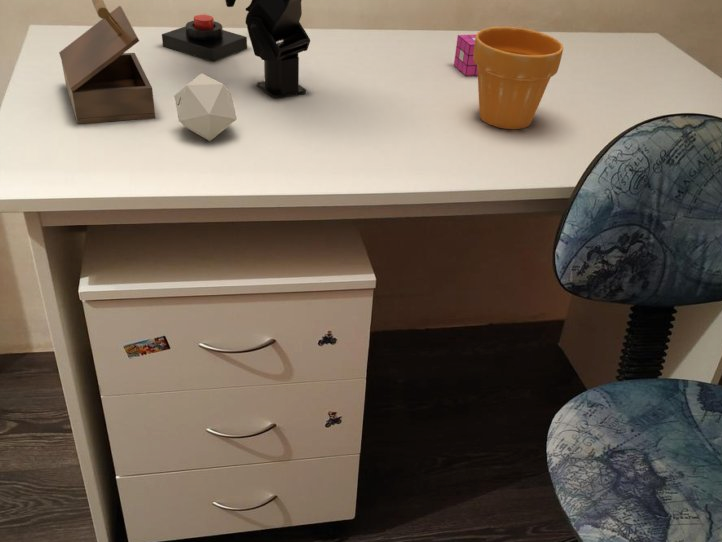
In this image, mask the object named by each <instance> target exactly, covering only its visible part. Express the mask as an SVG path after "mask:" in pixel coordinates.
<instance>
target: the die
mask: <svg viewBox="0 0 722 542" xmlns="http://www.w3.org/2000/svg"><path fill="white" fill-rule="evenodd" d="M174 101H175V107H176V113H177V118H178V122H179V123H180V124H181V125H183V126H184V127H185V128H186V129H187V130H188V131H191V132H192V133H194V134H196V135H198V136H200V137H202V138H203V139H205V140H207V141H209V142H211V141H212V140H213V139H215V138H216V137H217V136H219V134H221V133H222V132H223V131H225V129H227V128H228V127H230V125H231V124H233V123H234V122H235V121H236V120H237V119H238V117H237V114H236V107H235V104H234V99H233V94H232V92H231V91H230V90H229V89H228V88H227V86H226V85H225V84H224V83H222V82H220V81H218V80H217V79H214V78H212V77H210V76H208V75H206V74H204V73H202V72H201V73H199V75H197V76H196V77H194V79H192V80H191V81H190V82H188V83H187V84H185V86H184V87H182V88H181V89H180V90H179V91H178V92H177V93H176V94H175V95H174Z"/></svg>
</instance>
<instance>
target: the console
mask: <svg viewBox="0 0 722 542" xmlns="http://www.w3.org/2000/svg"><path fill="white" fill-rule="evenodd" d="M161 41H162V47H164V48H167V49H171V50H173V51H177V52H180V53H183V54H186V55H190V56H193V57H197V58H199V59H203V60H206V61H209V62H212V63H214V62H216V61H219V60H222V59H224V58H228V57H229V56H232V55H235V54H237V53H239V52H243V51H245V50H247V49H248V36H245V35H241V34H239V33H235V32H231V31H228V30H224V28H223V25H222V24H221V23H220V22H219V21H215V20H214V28H211V29H198V28H195V27H194V20H191V21H188V22H186V24H185V25H184V26H182V27H179V28H176V29H173V30H170V31H167V32H164V33H161Z"/></svg>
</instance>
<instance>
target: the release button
mask: <svg viewBox="0 0 722 542" xmlns="http://www.w3.org/2000/svg"><path fill="white" fill-rule="evenodd" d="M193 21H194V27H195V28H198V29H211V28H214V21H215V20H214V17H213V16H211V15H209V14H197V15H194V16H193Z"/></svg>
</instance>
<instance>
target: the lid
mask: <svg viewBox="0 0 722 542" xmlns="http://www.w3.org/2000/svg"><path fill="white" fill-rule="evenodd" d="M91 2H92V5H93V8H94V9H95V12H96V14H97V16H98V17H99V18H100V19H101V20H99V21H98V22H97V23H95V24H94V25H93V26H91V27H90V28H89V29H87V30H86V31H85V32H84V33H83V34H81V35H80V36H78V37H77V38H76V39H75V40H73V41H72V42H71V43H69V44H68V45H67V46H65V47H64V48H63V49H61V50H60V51H59V52H58V53H59V57H60V60H61V64H62V63H63V66H64V70H65V73H66V76H67V79H68V82H69V86H70V89H71V90H72V91H73V92H74V91H75V90H76V89H77V88H79V87H80V86H81V85H83V84H84V83H85V82H87V81H88V80H89V79H90V78H92V77H93V76H94V75H96V74H97V73H98V72H100V71H101V70H102V69H104V68H105V67H106V66H107V65H109V64H110V63H111V62H113V61H114V60H115V59H117V58H118V57H119V56H120V55H122V54H123V53H127V51H128V50H130V49H131V48H132V47H134V46H135V45H136V44H138V43H139V42H140V39H139V37H138V36H137V33H136V32H135V29H134V28H133V25H132V24H131V22H130V20H129V18H128V16H127V15H126V13H125V10H124V9H123V7H122V6H121V5H119V6H117V7H115V8H114V9H113V10H112V11H111V12H110V11H109V9H108V7H107V5H106V4H105V1H104V0H91ZM63 66H62V67H63Z"/></svg>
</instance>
